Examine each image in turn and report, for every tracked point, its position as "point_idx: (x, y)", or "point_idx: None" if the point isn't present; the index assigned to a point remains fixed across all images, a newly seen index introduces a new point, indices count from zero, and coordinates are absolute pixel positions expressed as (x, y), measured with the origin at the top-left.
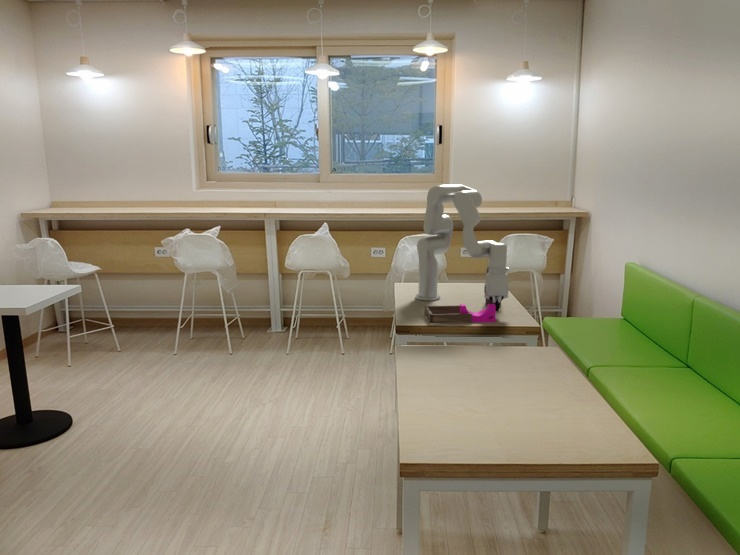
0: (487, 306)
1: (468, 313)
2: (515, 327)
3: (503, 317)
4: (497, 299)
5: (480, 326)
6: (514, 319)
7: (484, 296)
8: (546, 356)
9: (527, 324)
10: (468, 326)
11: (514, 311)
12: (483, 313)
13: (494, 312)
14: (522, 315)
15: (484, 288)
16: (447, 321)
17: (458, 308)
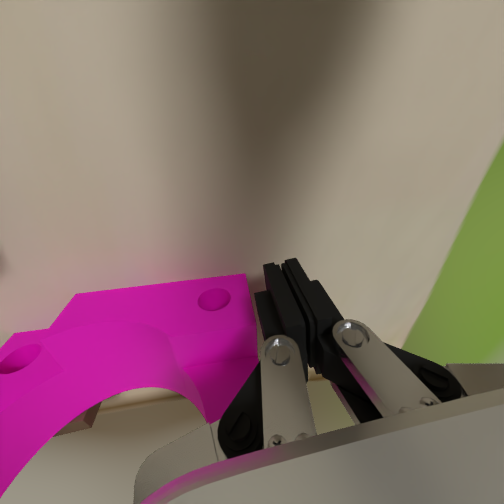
0: (203, 404)
1: (64, 428)
2: (321, 378)
3: (321, 251)
4: (347, 365)
5: (171, 397)
6: (369, 282)
7: (141, 494)
8: None
9: (388, 341)
10: (112, 408)
11: (497, 44)
12: (176, 383)
13: None
14: (468, 190)
15: None
16: None
17: None
